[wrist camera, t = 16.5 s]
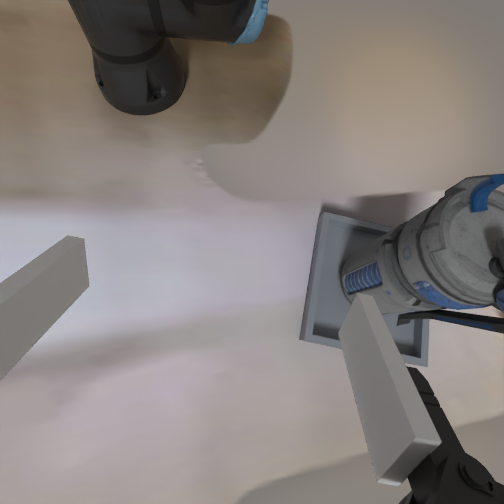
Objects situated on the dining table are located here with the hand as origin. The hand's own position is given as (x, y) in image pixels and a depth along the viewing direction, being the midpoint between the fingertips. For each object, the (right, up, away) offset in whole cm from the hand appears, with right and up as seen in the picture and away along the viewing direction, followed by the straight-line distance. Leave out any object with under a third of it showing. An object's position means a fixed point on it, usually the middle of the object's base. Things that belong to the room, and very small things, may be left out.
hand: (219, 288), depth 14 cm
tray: (+20, -4, +32) cm, 38 cm away
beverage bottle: (+20, -4, +32) cm, 38 cm away
